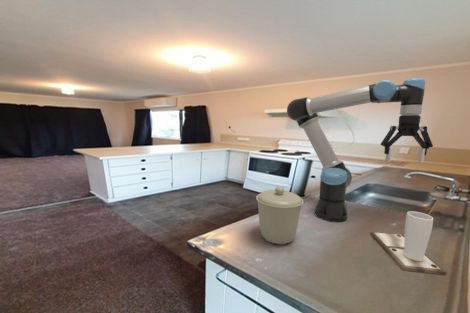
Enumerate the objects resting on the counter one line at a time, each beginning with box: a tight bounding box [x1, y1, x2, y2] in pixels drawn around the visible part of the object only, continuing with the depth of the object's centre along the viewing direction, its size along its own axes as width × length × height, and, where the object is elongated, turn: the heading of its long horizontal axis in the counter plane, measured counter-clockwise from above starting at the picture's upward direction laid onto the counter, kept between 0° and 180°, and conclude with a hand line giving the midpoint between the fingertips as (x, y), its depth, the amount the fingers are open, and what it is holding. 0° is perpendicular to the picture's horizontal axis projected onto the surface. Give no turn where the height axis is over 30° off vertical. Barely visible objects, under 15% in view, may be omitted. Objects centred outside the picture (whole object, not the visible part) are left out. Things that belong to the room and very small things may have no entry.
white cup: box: [403, 210, 434, 261], centre depth 72 cm, size 7×7×15 cm
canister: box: [255, 186, 304, 245], centre depth 86 cm, size 18×18×21 cm
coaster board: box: [369, 231, 447, 275], centre depth 79 cm, size 12×23×2 cm, turn 171°
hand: (403, 161), depth 100 cm, fingers open, 13 cm apart
